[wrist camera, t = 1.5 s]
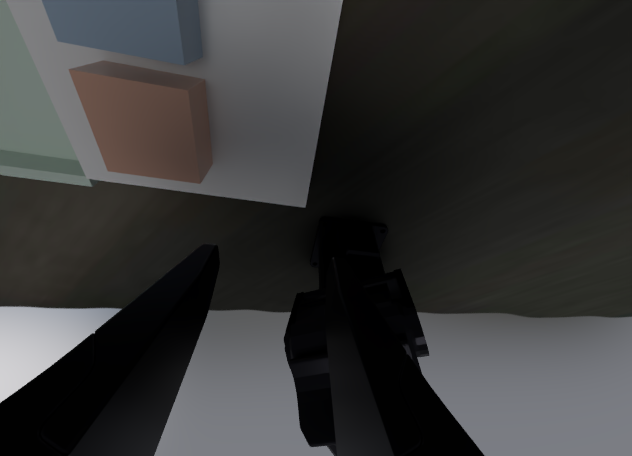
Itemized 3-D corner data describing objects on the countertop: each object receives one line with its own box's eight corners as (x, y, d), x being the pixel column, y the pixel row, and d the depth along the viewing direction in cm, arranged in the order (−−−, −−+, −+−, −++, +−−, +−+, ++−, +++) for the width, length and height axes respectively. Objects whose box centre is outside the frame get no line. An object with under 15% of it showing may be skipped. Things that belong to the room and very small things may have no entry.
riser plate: (306, 186, 22) (305, 207, 19) (112, 159, 20) (86, 178, 18) (347, -57, 13) (355, -71, 10) (2, -148, 11) (-80, -189, 9)
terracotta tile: (212, 164, 17) (200, 184, 15) (131, 152, 16) (107, 171, 14) (205, 78, 14) (188, 90, 12) (103, 60, 13) (68, 69, 11)
